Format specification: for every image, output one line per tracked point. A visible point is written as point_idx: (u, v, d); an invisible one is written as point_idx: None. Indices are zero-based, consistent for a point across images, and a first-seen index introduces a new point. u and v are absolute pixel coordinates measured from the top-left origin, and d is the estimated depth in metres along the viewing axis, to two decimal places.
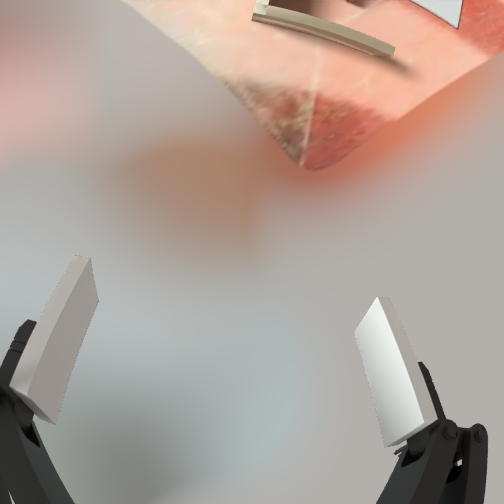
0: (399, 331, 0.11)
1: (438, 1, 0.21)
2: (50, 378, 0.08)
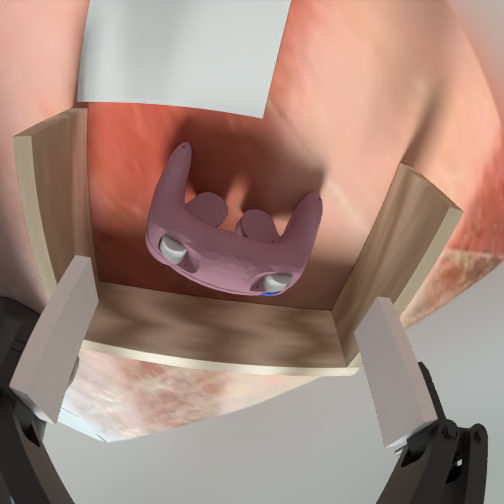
0: (399, 331, 0.11)
1: None
2: (50, 378, 0.08)
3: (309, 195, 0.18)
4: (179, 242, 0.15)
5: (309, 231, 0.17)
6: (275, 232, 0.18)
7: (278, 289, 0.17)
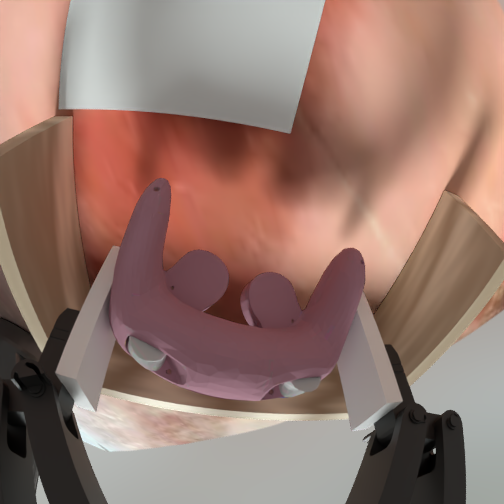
0: (365, 312, 0.12)
1: None
2: (94, 364, 0.09)
3: (347, 255, 0.12)
4: (154, 346, 0.09)
5: (347, 312, 0.11)
6: (297, 306, 0.13)
7: (300, 392, 0.11)
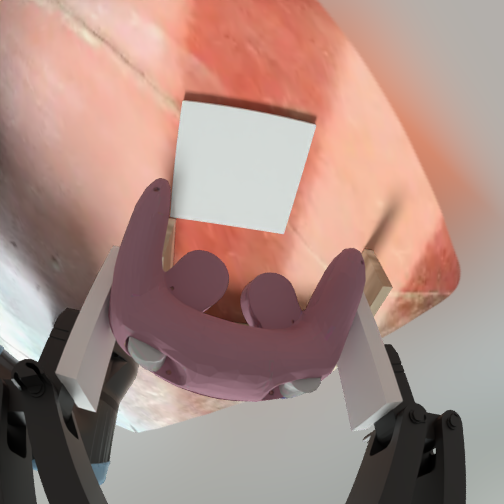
0: (365, 312, 0.12)
1: (277, 163, 0.25)
2: (94, 364, 0.09)
3: (347, 255, 0.12)
4: (154, 347, 0.09)
5: (347, 313, 0.11)
6: (297, 306, 0.13)
7: (300, 393, 0.11)
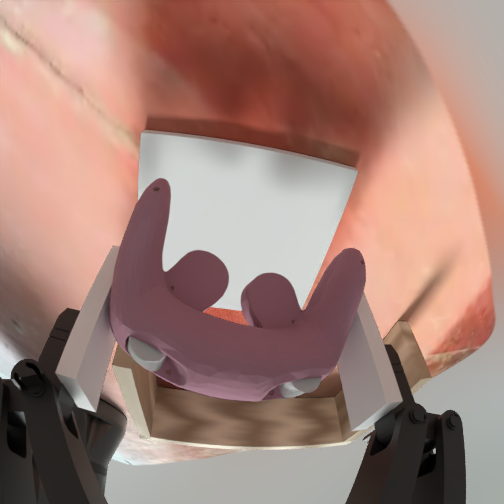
0: (365, 312, 0.12)
1: (295, 228, 0.16)
2: (94, 364, 0.09)
3: (347, 255, 0.12)
4: (154, 347, 0.09)
5: (348, 313, 0.11)
6: (297, 306, 0.13)
7: (300, 393, 0.11)
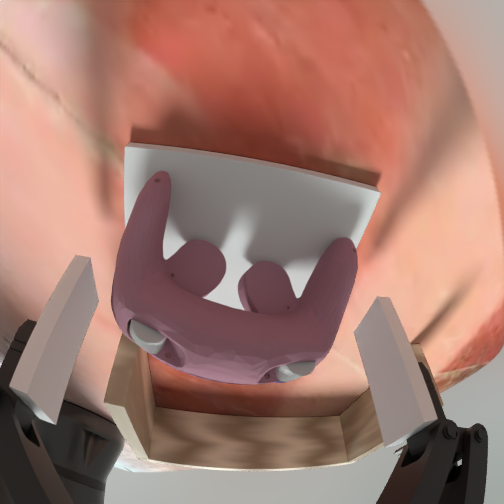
0: (399, 331, 0.11)
1: (306, 257, 0.14)
2: (50, 378, 0.08)
3: (340, 243, 0.13)
4: (154, 329, 0.10)
5: (340, 299, 0.12)
6: (292, 294, 0.13)
7: (295, 377, 0.11)
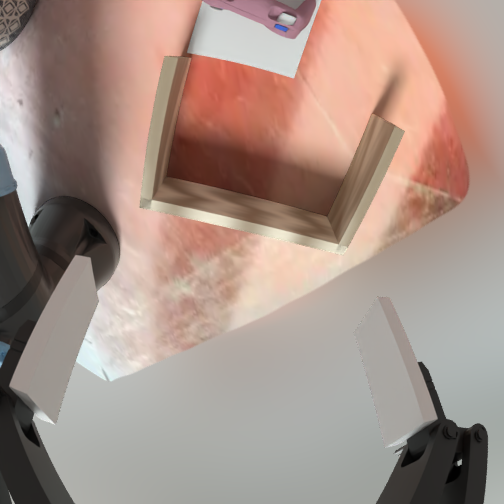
0: (399, 331, 0.11)
1: None
2: (50, 378, 0.08)
3: None
4: None
5: (307, 6, 0.19)
6: None
7: (287, 23, 0.18)
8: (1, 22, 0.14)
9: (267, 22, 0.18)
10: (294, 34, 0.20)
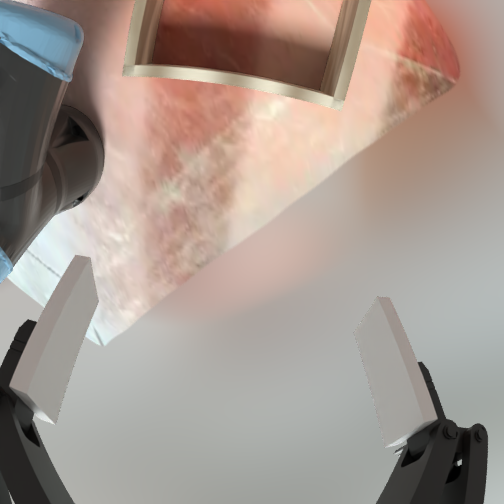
0: (399, 331, 0.11)
1: None
2: (50, 378, 0.08)
3: None
4: None
5: None
6: None
7: None
8: None
9: None
10: None
